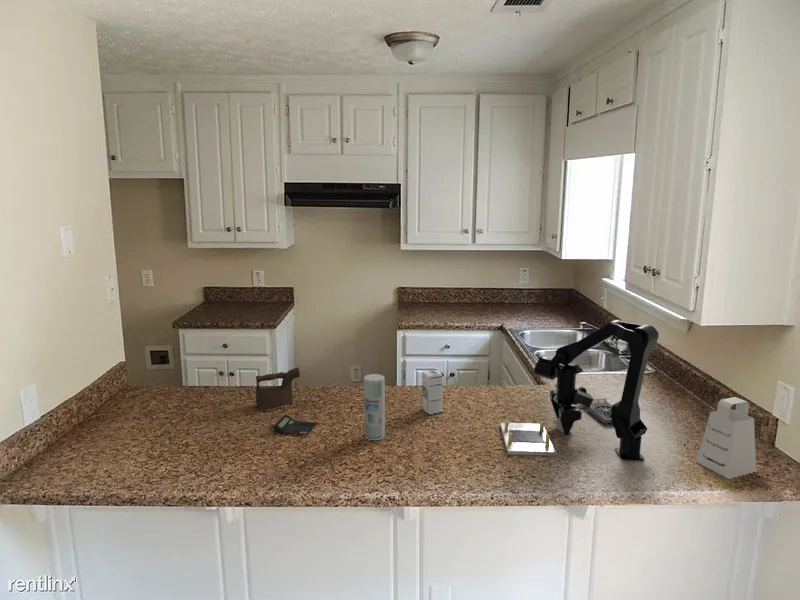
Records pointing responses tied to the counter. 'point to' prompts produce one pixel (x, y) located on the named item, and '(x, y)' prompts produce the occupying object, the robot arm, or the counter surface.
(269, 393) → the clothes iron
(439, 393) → the syrup box
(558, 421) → the electric motor
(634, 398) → the robot arm
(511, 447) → the chassis plate
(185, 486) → the counter surface
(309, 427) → the calculator
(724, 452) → the grater
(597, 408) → the graphics card
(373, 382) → the spray can
